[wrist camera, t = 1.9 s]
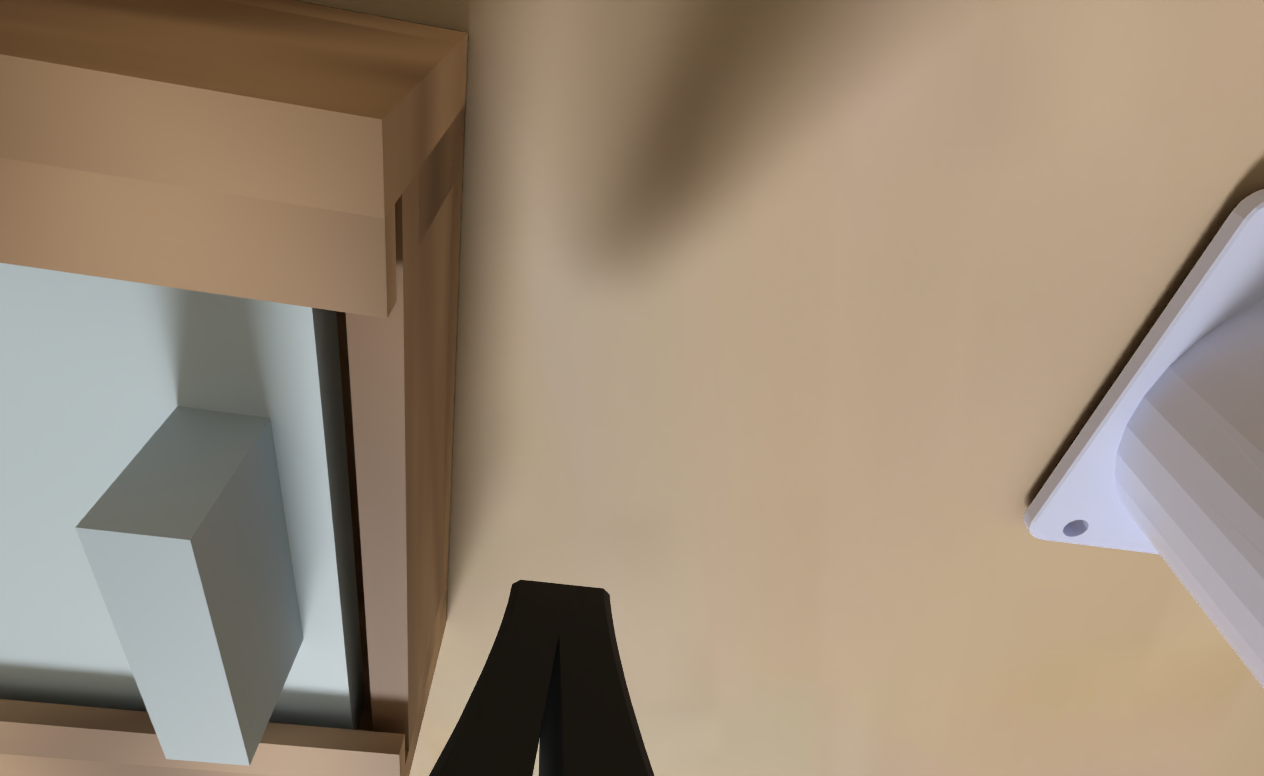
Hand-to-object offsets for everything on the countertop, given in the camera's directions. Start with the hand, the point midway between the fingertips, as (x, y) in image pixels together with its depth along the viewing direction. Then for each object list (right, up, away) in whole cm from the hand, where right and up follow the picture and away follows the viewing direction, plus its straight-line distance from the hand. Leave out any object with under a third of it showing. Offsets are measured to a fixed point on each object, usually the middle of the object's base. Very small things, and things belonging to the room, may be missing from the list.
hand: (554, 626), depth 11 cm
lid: (-8, +2, +1) cm, 8 cm away
